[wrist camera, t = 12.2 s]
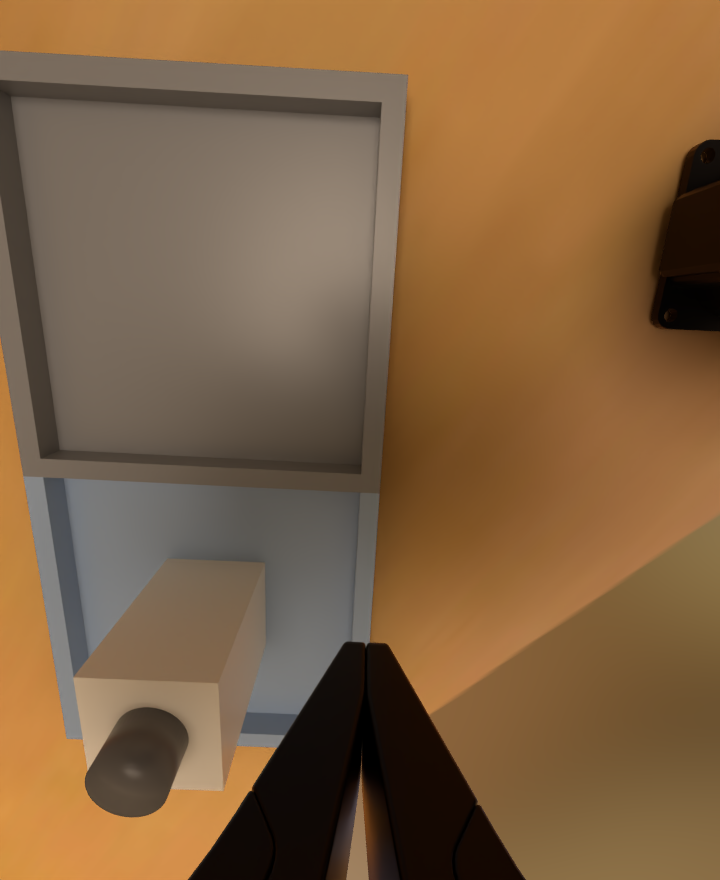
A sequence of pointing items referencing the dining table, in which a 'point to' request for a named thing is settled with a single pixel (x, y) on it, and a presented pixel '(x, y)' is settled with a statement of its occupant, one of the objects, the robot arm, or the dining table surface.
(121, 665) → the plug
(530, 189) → the dining table surface
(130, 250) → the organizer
